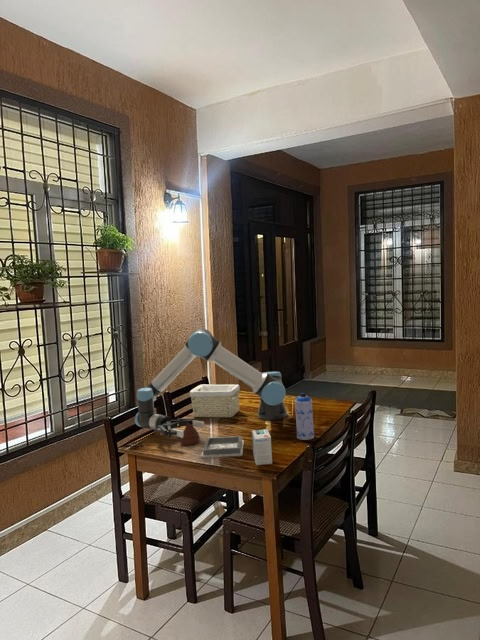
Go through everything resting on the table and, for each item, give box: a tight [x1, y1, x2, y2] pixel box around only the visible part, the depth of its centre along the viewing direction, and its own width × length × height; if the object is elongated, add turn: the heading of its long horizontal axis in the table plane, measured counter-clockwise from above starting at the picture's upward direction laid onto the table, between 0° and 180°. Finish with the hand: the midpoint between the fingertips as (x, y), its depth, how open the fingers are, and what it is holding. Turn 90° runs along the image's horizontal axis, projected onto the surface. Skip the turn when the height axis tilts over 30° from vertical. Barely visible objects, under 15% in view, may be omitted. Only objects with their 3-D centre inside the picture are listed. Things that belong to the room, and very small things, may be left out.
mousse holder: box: [200, 435, 245, 459], centre depth 209 cm, size 17×16×3 cm
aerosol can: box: [294, 392, 315, 441], centre depth 217 cm, size 8×8×20 cm
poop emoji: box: [180, 423, 201, 447], centre depth 221 cm, size 10×8×9 cm
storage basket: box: [189, 383, 241, 418], centre depth 263 cm, size 24×16×15 cm
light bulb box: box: [251, 428, 273, 466], centre depth 194 cm, size 11×7×11 cm, turn 5°
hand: (193, 429), depth 218 cm, fingers open, 13 cm apart
